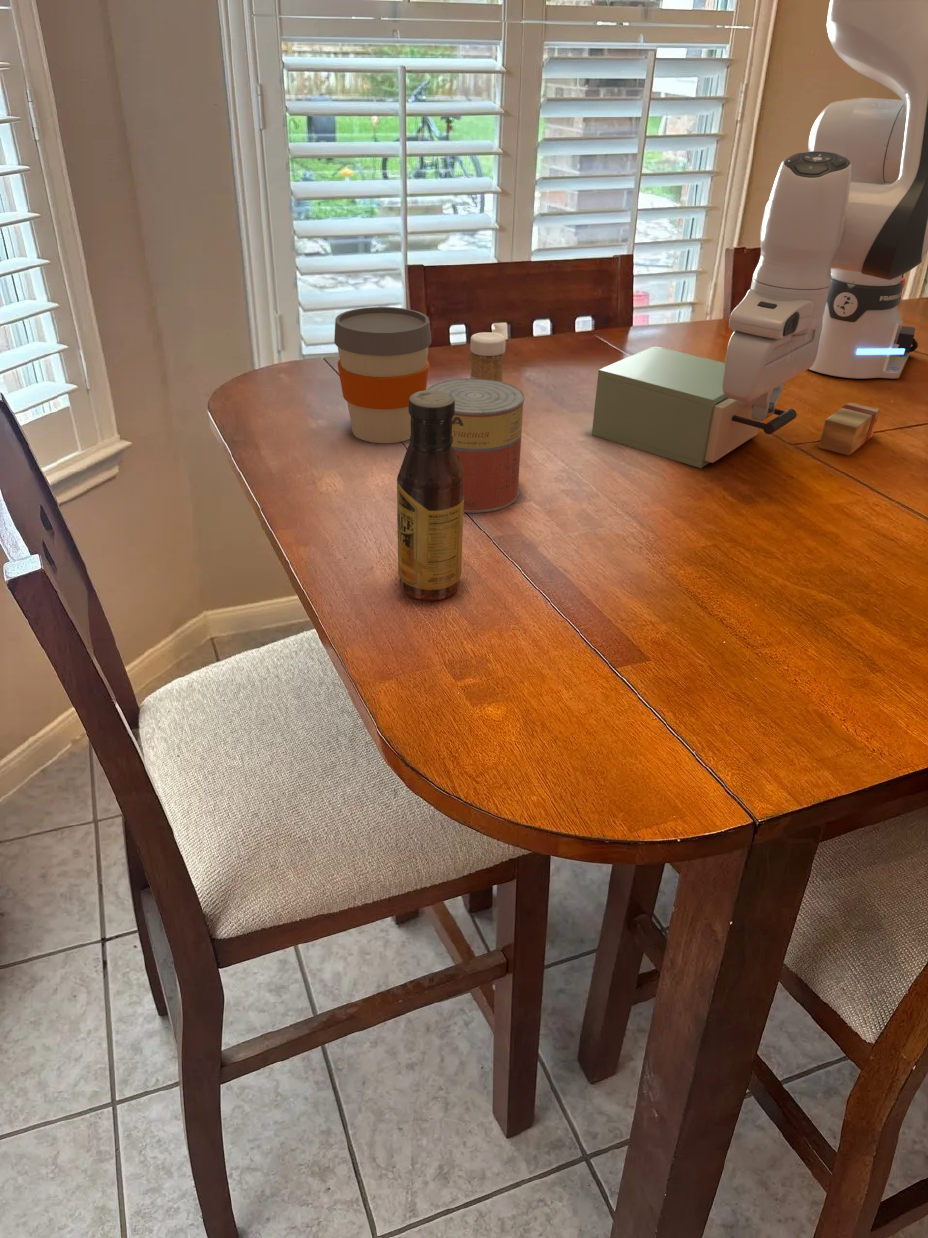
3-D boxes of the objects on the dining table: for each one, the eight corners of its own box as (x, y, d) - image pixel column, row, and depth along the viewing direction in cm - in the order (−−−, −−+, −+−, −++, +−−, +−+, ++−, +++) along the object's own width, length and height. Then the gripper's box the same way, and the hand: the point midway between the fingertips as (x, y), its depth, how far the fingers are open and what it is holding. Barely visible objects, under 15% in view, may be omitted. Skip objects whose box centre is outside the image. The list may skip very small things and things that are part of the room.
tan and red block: (842, 429, 130) (849, 401, 128) (872, 436, 128) (880, 408, 125) (817, 447, 124) (824, 418, 122) (849, 456, 122) (857, 427, 120)
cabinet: (750, 436, 127) (763, 371, 122) (700, 468, 117) (713, 399, 112) (645, 407, 135) (654, 345, 130) (591, 434, 126) (598, 369, 121)
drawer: (797, 444, 122) (810, 391, 118) (754, 475, 113) (766, 419, 109) (658, 406, 133) (665, 356, 129) (608, 431, 125) (614, 379, 121)
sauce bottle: (397, 572, 94) (394, 382, 83) (458, 571, 94) (463, 382, 83) (399, 607, 88) (395, 408, 77) (464, 605, 89) (469, 408, 78)
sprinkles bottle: (507, 437, 124) (513, 338, 117) (479, 444, 122) (483, 343, 115) (488, 426, 127) (492, 329, 120) (461, 432, 125) (463, 333, 118)
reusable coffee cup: (450, 431, 126) (451, 320, 117) (382, 456, 118) (379, 339, 110) (387, 407, 133) (385, 301, 125) (320, 429, 125) (312, 318, 117)
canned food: (411, 480, 112) (410, 384, 106) (494, 466, 116) (498, 373, 109) (445, 519, 104) (447, 418, 97) (534, 504, 107) (541, 405, 101)
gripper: (795, 286, 117) (773, 391, 125) (723, 316, 104) (702, 432, 112) (844, 295, 114) (818, 402, 122) (775, 327, 101) (750, 446, 108)
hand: (762, 417), depth 117 cm, fingers closed
